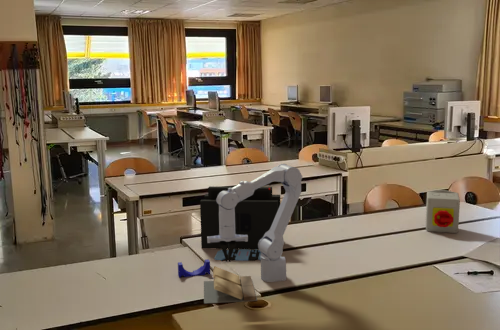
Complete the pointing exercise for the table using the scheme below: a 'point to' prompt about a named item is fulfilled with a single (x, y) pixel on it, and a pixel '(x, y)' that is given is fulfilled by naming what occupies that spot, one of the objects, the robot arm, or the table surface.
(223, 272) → the oak plank far
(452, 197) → the electrical switch box
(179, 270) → the blue cradle bracket
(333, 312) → the table surface
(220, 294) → the underlay mat
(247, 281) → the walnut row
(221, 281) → the oak plank near
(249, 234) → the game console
